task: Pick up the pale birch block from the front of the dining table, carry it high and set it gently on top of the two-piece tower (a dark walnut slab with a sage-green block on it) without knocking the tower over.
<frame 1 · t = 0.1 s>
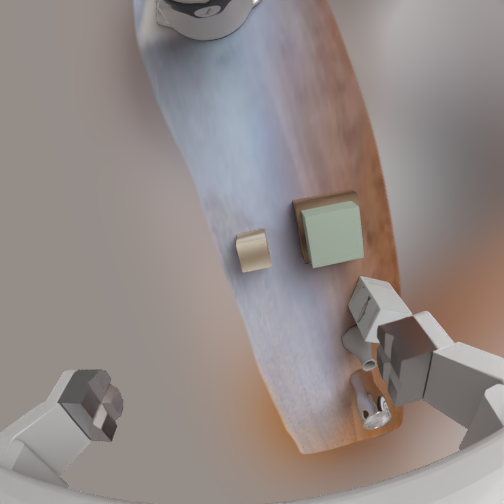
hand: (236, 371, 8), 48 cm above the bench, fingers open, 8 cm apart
flask: (356, 336, 67), on the bench
birch block: (253, 243, 58), on the bench
beer glass: (360, 376, 72), on the bench
tower top block: (330, 230, 54), point 3 cm above the bench, touching tower base slab
supplement box: (367, 293, 63), on the bench
tower base slab: (326, 222, 57), on the bench, touching tower top block
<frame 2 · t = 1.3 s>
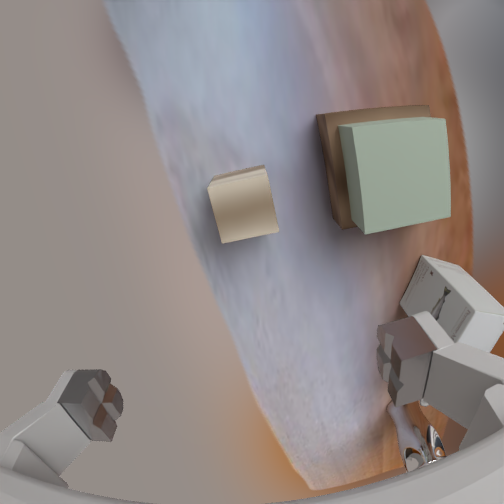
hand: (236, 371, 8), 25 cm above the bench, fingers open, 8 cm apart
birch block: (244, 193, 31), on the bench
beer glass: (401, 402, 46), on the bench
tower top block: (389, 166, 27), point 4 cm above the bench, touching tower base slab
supplement box: (428, 283, 36), on the bench
tower base slab: (373, 159, 30), on the bench, touching tower top block
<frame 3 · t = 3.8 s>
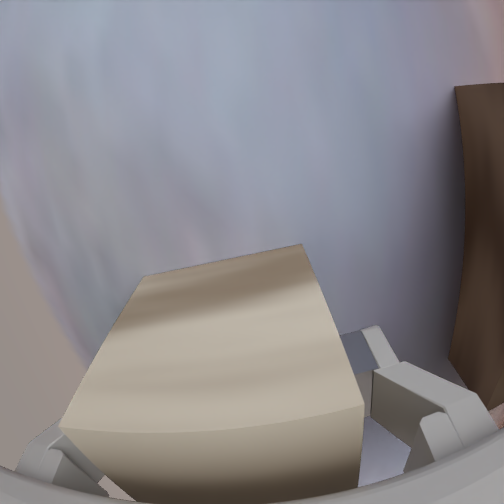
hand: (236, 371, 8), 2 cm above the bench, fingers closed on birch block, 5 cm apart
birch block: (238, 328, 10), on the bench, touching gripper
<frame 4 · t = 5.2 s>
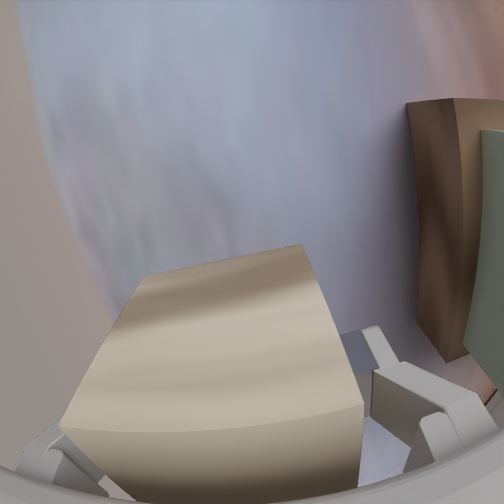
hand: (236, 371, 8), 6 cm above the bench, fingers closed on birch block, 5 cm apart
birch block: (238, 327, 10), point 4 cm above the bench, touching gripper
tower base slab: (493, 205, 13), on the bench, touching tower top block
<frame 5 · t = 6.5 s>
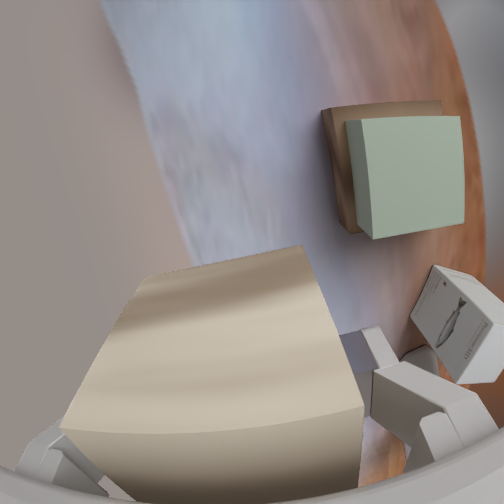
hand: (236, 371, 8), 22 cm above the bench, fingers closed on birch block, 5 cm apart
flask: (413, 364, 38), on the bench
birch block: (238, 328, 10), point 20 cm above the bench, touching gripper
tower top block: (399, 167, 24), point 3 cm above the bench, touching tower base slab
supplement box: (440, 294, 34), on the bench
tower base slab: (382, 159, 28), on the bench, touching tower top block
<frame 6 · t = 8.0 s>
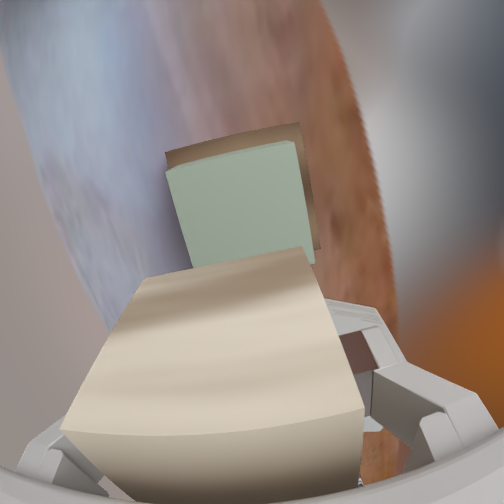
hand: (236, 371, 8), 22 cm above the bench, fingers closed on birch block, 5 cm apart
birch block: (238, 329, 10), point 20 cm above the bench, touching gripper
tower top block: (244, 204, 26), point 4 cm above the bench, touching tower base slab
supplement box: (336, 327, 35), on the bench
tower base slab: (246, 191, 29), on the bench, touching tower top block
when the fingers open (12 cm above the bench, at t = 10.2 s): birch block drops 2 cm, point 7 cm above the bench.
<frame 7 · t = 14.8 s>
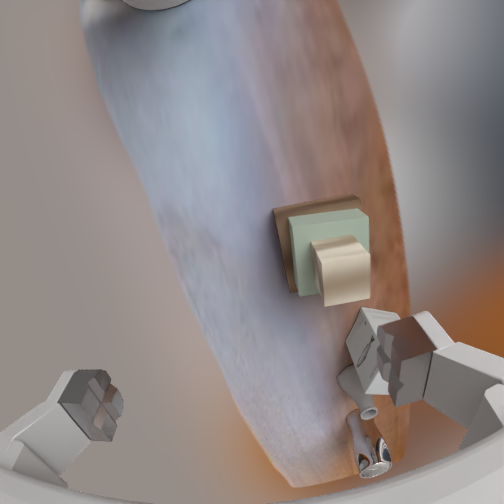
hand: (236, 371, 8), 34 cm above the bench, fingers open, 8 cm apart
flask: (354, 374, 54), on the bench
birch block: (333, 257, 36), point 7 cm above the bench
beer glass: (359, 415, 59), on the bench
tower top block: (326, 246, 40), point 3 cm above the bench, touching tower base slab
supplement box: (370, 326, 49), on the bench
tower base slab: (318, 237, 44), on the bench, touching tower top block
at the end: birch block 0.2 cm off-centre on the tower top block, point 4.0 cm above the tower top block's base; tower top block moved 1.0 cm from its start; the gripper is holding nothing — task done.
